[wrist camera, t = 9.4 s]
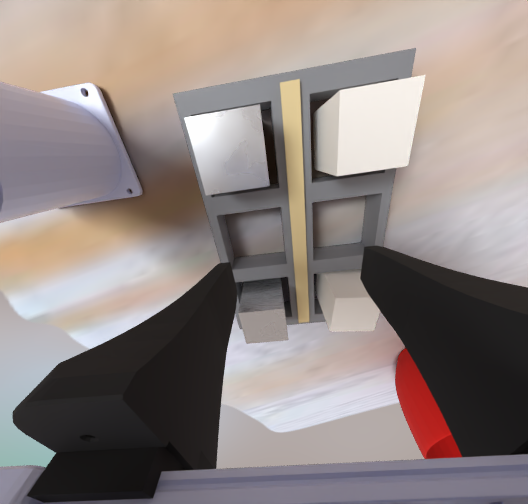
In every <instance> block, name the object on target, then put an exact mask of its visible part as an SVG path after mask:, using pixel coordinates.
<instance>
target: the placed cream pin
mask: <svg viewBox="0 0 528 504" xmlns="http://www.w3.org/2000/svg"><path fill="white" fill-rule="evenodd" d="M424 80H425V75H422V76H416V77H411V78H405V79H400V80H394V81H388V82H383V83H377V84H371V85H366V86H360V87H355V88H349V89H343V90H340V91H338V92H337V93H336V94H335V95H334V96H333V97H332V98H330V99H329V100H328V101H327V102H326V103H325V104H323V105H322V106H321V107H320V108H319V109H318V110H317V111H315V112H314V113H313V143H314V169H315V170H318V171H321V172H325V173H328V174H331V175H334V176H343V175H350V174H356V173H363V172H370V171H377V170H384V169H391V168H398V167H404V166H408V163H409V158H410V153H411V147H412V142H413V137H414V132H415V127H416V122H417V116H418V111H419V106H420V101H421V96H422V91H423V85H424Z"/></svg>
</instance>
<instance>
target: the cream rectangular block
mask: <svg viewBox="0 0 528 504" xmlns="http://www.w3.org/2000/svg"><path fill="white" fill-rule="evenodd" d="M360 276H361V269H353V270H344V271H335V272H326V273H317V275H316V284H315V292H316V295H317V298H318V301H319V303H320V306H321V309H322V312H323V315H324V317H325V320H326V323H327V326H328V328H329V331H330V332H349V331H374V329H375V326H376V323H377V320H378V317H379V314H380V310H379V308H378V307H377V306H376V304H375V303H374V301H373V300H372V299H371V297H370V296H369V294H368V293H367V291H366V289H365V287H364V285H363V283H362V281H361V279H360Z"/></svg>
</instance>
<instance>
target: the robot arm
mask: <svg viewBox="0 0 528 504" xmlns="http://www.w3.org/2000/svg"><path fill="white" fill-rule="evenodd" d="M86 90H87V91H88V94H89V95H88V97H87V96H86V93H85V91H86ZM129 189H131V190H132V192H133V193H131V192H130V191H129ZM142 193H143V190H142V187H141V185H140V183H139V180H138V178H137V175H136V173H135V171H134V168H133V166H132V164H131V161H130V159H129V156H128V154H127V152H126V149H125V147H124V145H123V142H122V140H121V137H120V135H119V133H118V130H117V128H116V126H115V123H114V121H113V118H112V116H111V114H110V111H109V109H108V107H107V104H106V102H105V99H104V97H103V95H102V92H101V90H100V89H99V87H98V86H96V85H94V84H92V83H83V84H78V85H73V86H68V87H63V88H58V89H53V90H48V91H43V92H37V91H33V90H29V89H26V88H22V87H18V86H15V85H11V84H7V83H4V82H0V223H1V222H5V221H9V220H13V219H17V218H21V217H25V216H29V215H32V214H36V213H40V212H44V211H48V210H52V209H56V208H62V207H69V206H75V205H82V204H89V203H95V202H102V201H109V200H115V199H122V198H129V197H135V196H140V195H142ZM360 279H361V281H362V283H363V285H364V287H365V289H366V291H367V293H368V294H369V296H370V297H371V299H372V300H373V301H374V303H375V304H376V306H377V307H378V308H379V310H380V311H381V312H382V314H383V315H384V316H385V318H386V319H387V321H388V322H389V323H390V325H391V326H392V327H393V329H394V330H395V331H396V333H397V334H398V336H399V337H400V339H401V340H402V342H403V344H404V345H405V347H406V349H407V351H408V352H409V354H410V356H411V357H412V359H413V361H414V362H415V364H416V366H417V368H418V370H419V371H420V373H421V375H422V377H423V379H424V380H425V382H426V384H427V386H428V388H429V390H430V392H431V394H432V396H433V398H434V400H435V402H436V403H437V405H438V407H439V409H440V411H441V413H442V415H443V417H444V419H445V422H446V424H447V426H448V428H449V430H450V432H451V434H452V436H453V438H454V440H455V442H456V444H457V447H458V449H459V451H460V453H461V455H462V457H458V458H437V459H417V460H395V461H375V462H353V463H333V464H311V465H291V466H269V467H248V468H227V469H216V461H217V447H218V432H219V419H220V407H221V396H222V386H223V376H224V368H225V360H226V352H227V347H228V342H229V338H230V333H231V329H232V324H233V320H234V315H235V311H236V304H237V287H236V283H235V279H234V275H233V271H232V267H231V263H230V262H226V263H219V264H218V265H217V266H215V267H214V268H213V269H212V270H211V271H210V272H209V273H208V274H207V275H206V276H205V277H204V278H202V279H201V280H200V281H199V282H198V283H197V284H196V285H195V286H193V287H192V288H191V289H190V290H189V291H187V292H186V293H185V294H184V295H183V296H181V297H180V298H179V299H177V300H176V301H175V302H173V303H172V304H170V305H169V306H168V307H166V308H165V309H163V310H162V311H160V312H159V313H157V314H155V315H154V316H152V317H150V318H149V319H147V320H146V321H144V322H142V323H141V324H139V325H137V326H135V327H134V328H132V329H130V330H128V331H126V332H124V333H123V334H121V335H119V336H117V337H115V338H113V339H111V340H109V341H107V342H105V343H103V344H101V345H99V346H96V347H94V348H92V349H90V350H88V351H85V352H83V353H81V354H79V355H77V356H75V357H72V358H70V359H68V360H66V361H63V362H61V363H59V364H58V365H57V366H56V367H55V368H54V369H53V370H52V371H51V372H50V373H49V374H48V375H47V376H46V377H45V378H44V379H43V381H42V382H41V383H40V384H39V385H38V386H37V387H36V388H35V389H34V390H33V391H32V392H31V393H30V394H29V395H28V396H27V397H26V398H25V399H24V400H23V401H22V402H21V403H20V404H19V405H18V406H17V407H16V408H15V410H14V411H13V423H14V424H15V425H16V427H17V428H18V429H20V430H21V431H22V432H23V433H25V434H26V435H28V436H30V437H31V438H33V439H34V440H36V441H38V442H39V443H41V444H43V445H44V446H46V447H48V448H49V449H51V450H53V451H54V452H56V454H55V456H54V457H53V458H52V460H51V461H50V463H49V464H48V466H47V467H46V468H45V467H41V466H33V465H32V466H31V465H29V466H28V465H27V466H10V467H9V466H8V467H0V504H528V288H527V287H522V286H517V285H512V284H507V283H502V282H498V281H493V280H489V279H484V278H480V277H477V276H473V275H469V274H465V273H461V272H457V271H454V270H450V269H447V268H444V267H441V266H437V265H434V264H431V263H428V262H425V261H422V260H419V259H416V258H413V257H410V256H408V255H405V254H402V253H399V252H396V251H393V250H390V249H387V248H384V247H381V246H367V247H364V253H363V261H362V268H361V276H360Z"/></svg>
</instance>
